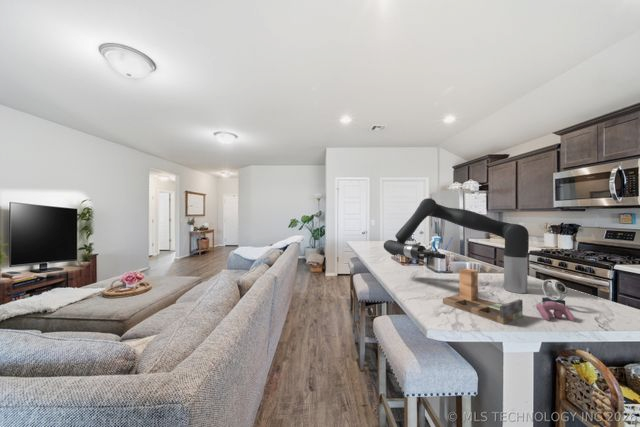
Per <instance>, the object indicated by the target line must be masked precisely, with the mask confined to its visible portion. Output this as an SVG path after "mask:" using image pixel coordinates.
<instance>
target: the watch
mask: <svg viewBox="0 0 640 427" xmlns="http://www.w3.org/2000/svg"><path fill="white" fill-rule="evenodd" d="M550 282H551V285H552V289H553V291H555V293H556V294H557V296H558V297H555V296H553V295H552V293H551V291H550V289H549V286H548V283H550ZM541 288H542V292H543V294H544V296H545V297H542V298H541V302H546V301H553V302H557V303H562V304H563V305H565V306H566V300H564V299H565V298H566V296H567V293H568V288H567V286H566V285H565V284H564V283H563V282H561V281H559V280H557V279H545V280H543V282H542V284H541Z"/></svg>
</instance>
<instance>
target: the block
mask: <svg viewBox="0 0 640 427" xmlns="http://www.w3.org/2000/svg"><path fill="white" fill-rule="evenodd" d="M458 277H459V284H458V285H459V294H460V297H461V298H464V299H467V300H471V301H472V300H475V299H478V298H479V281H478V280H479V271H478V270H477V269H476V270H475V269H470V268H462V269H459V276H458Z"/></svg>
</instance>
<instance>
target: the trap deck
mask: <svg viewBox="0 0 640 427" xmlns="http://www.w3.org/2000/svg"><path fill="white" fill-rule="evenodd" d="M442 304H444V305H447V306H450V307H453V308H456V309H458V310H462V311H464V312H467V313H469V314H473V315H476V316H478V317H481V318H485V319H488V320H491V321H493V322H496V323H499V324H502V325H505V324H507V323H509V322H512V321H514V320H516V319H518V318H521V317H523V312H524V311H523V310H524V309H523V299H516V300H513V301H511V302H508V303H505V304H501V303H498V302H494V301H490V300H487V299H484V298H480V297H478V299H475V300H472V301H471V300H467V299H464V298H461V297H460V293H458V294H455V295H451V296H447V297H443V298H442Z"/></svg>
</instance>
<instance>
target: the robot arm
mask: <svg viewBox="0 0 640 427" xmlns="http://www.w3.org/2000/svg"><path fill="white" fill-rule="evenodd" d="M427 217H431V218H432V217H433V218H437V219H441V220H444V221H447V222H450V223H452V224H454V225H457V226H459V227H464V228H466V229H470V230H472V231H478V232H485V233H489V234H491V235H495V236H497V237H499V238H502V239H504V249H503V290H505V291H508V292H510V293H514V294H515V293H517V294H527V293H528V290H529V289H528V278H529V277H528V254H529V247H530V245H529V243H530V242H529V241H530V239H529V238H530V235H529V230H528V229H527V228H526V227H525V226H523V225H521V224H517V223H511V222H506V221H501V220H496V219H493V218H490V217H488V216H486V215H484V214H482V213H478V212H476V211H471V210H468V209H463V208H456V207H447V206H445V205H441V204H439V203H437V202H436V200H435V199H433V198H430V197H427V198H424V199H422V201H421V202H420V204H418V207H417V208H416V210H415V212H414V213H413V214H412V216H410V218H409V219H408V220H407V221H406V222H405V223H404V225H403V226H402V227H401V228H400V229H399V230H398V231H397V232H396V234H395V236H394V237H395V238H396V240H395V239H388V240H385V241H384V243H383V249H384V250H385V251H386V252H387V253H389V254H390V255H391V256H398V255H400V256H402V257H407V258H410V259H414V260H419V261H422V260H424V259H440V260H443V259H444V260H445V259H446V254H445V253H441V252H440V251H438V250H431V249H428V248H427V249H426V247H425V246H424V245H419V244H413V243H407V241H408V240H409V239H410V238H411V237H412V235H413V234H414V233H415V231H416V230H417V229H418V227H419V226H420V224H422V222H423V221H424V220H425V219H427Z"/></svg>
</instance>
